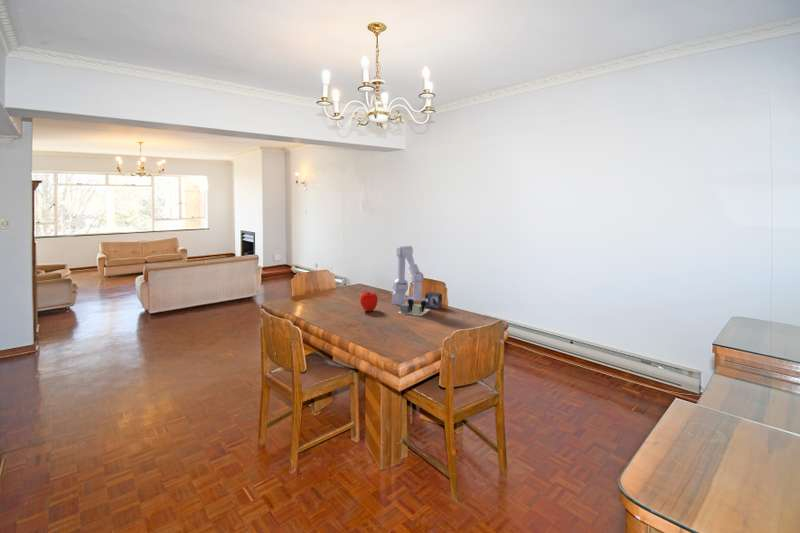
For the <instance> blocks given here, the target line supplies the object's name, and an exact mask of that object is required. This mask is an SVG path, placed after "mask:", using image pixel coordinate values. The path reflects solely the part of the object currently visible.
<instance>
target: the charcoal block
mask: <svg viewBox="0 0 800 533" xmlns="http://www.w3.org/2000/svg"><path fill="white" fill-rule="evenodd" d="M400 311H401V313H400V314H404V313H409V312H410V306H409V304H402V305H400Z"/></svg>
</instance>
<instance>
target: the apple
mask: <svg viewBox="0 0 800 533" xmlns="http://www.w3.org/2000/svg"><path fill="white" fill-rule="evenodd" d="M378 300H379V299H378V295H377V294H376V293H375V292H373V291H372V292H370V291H366V292H363V293H362V294H361V295H360V298H359V301H360V305H361V307H362V308H363V310H364V311H365V312H373V311H374V310H375V309H376V307H377V305H378Z"/></svg>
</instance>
